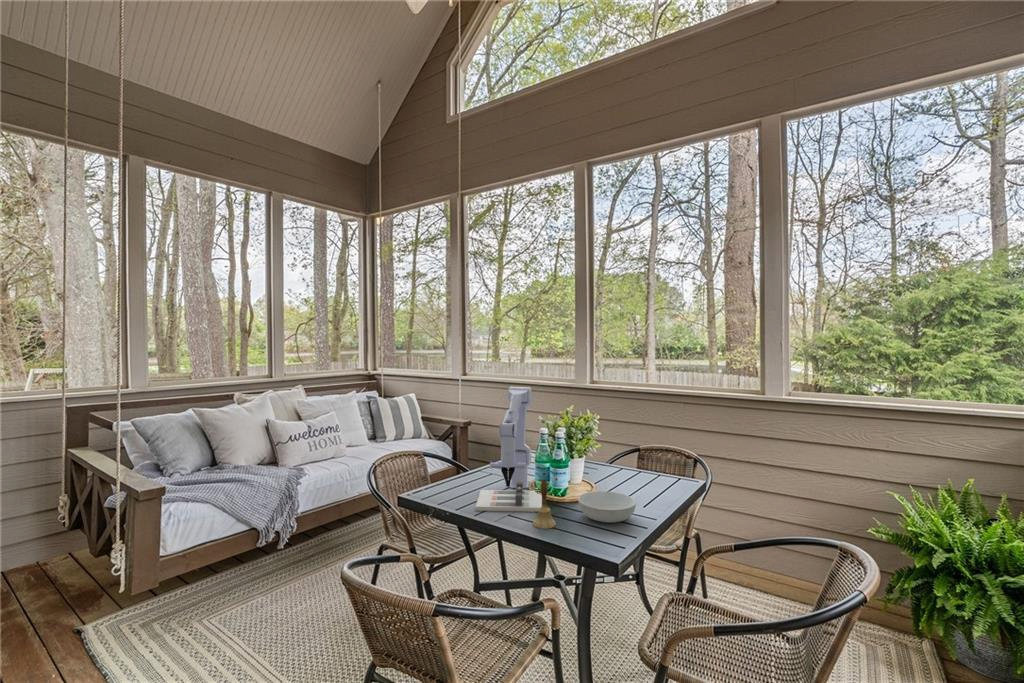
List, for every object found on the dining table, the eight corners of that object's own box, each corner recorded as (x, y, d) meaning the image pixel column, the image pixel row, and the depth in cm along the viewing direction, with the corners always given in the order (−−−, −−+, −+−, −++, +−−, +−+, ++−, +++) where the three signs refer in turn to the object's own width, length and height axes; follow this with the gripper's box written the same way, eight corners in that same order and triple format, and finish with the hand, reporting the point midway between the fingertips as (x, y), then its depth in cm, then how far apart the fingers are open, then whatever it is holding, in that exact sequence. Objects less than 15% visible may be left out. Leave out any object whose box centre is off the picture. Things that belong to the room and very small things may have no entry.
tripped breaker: (516, 495, 193) (516, 486, 193) (522, 495, 193) (522, 486, 193) (516, 498, 190) (516, 489, 190) (522, 498, 190) (522, 489, 190)
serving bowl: (646, 518, 175) (646, 499, 175) (614, 534, 160) (614, 514, 160) (599, 503, 190) (599, 486, 190) (566, 517, 175) (566, 499, 175)
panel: (481, 493, 202) (481, 480, 202) (542, 494, 201) (542, 481, 201) (475, 510, 182) (475, 496, 182) (543, 511, 181) (543, 497, 181)
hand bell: (527, 524, 169) (527, 479, 169) (543, 518, 175) (543, 474, 175) (545, 531, 163) (545, 484, 163) (560, 524, 169) (560, 479, 169)
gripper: (489, 454, 188) (489, 488, 188) (526, 455, 187) (526, 489, 187) (490, 450, 195) (490, 483, 195) (526, 450, 194) (526, 483, 194)
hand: (508, 485), depth 191 cm, fingers closed
